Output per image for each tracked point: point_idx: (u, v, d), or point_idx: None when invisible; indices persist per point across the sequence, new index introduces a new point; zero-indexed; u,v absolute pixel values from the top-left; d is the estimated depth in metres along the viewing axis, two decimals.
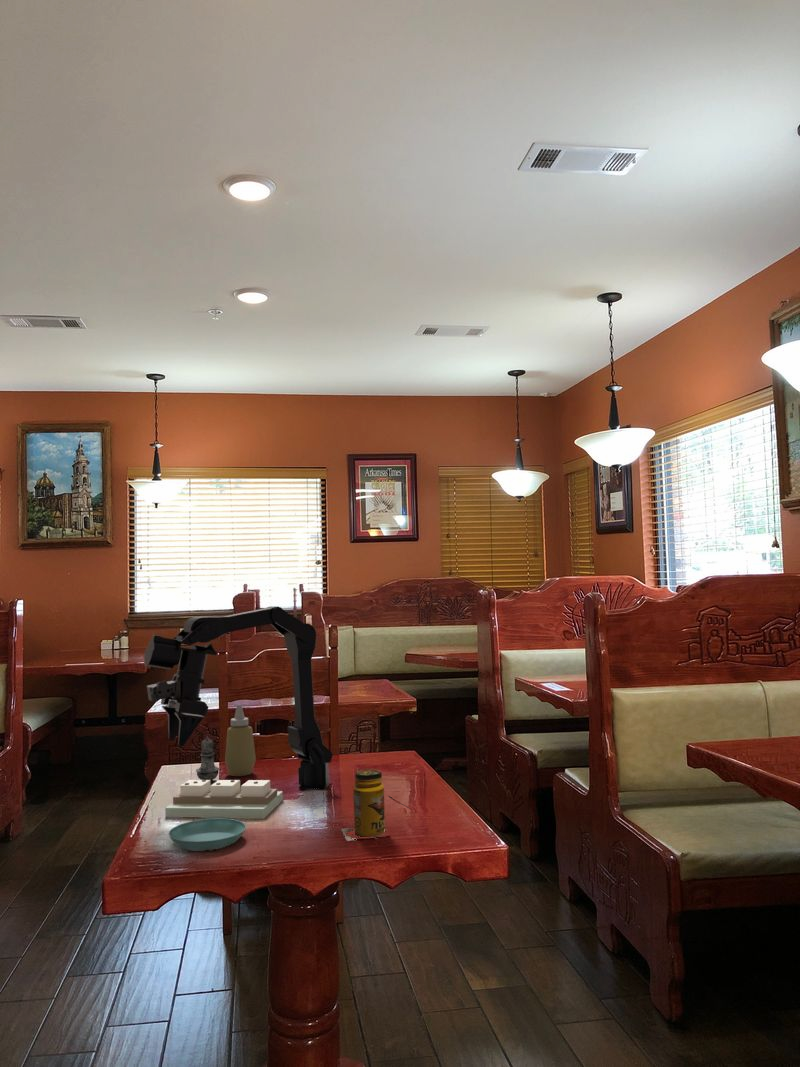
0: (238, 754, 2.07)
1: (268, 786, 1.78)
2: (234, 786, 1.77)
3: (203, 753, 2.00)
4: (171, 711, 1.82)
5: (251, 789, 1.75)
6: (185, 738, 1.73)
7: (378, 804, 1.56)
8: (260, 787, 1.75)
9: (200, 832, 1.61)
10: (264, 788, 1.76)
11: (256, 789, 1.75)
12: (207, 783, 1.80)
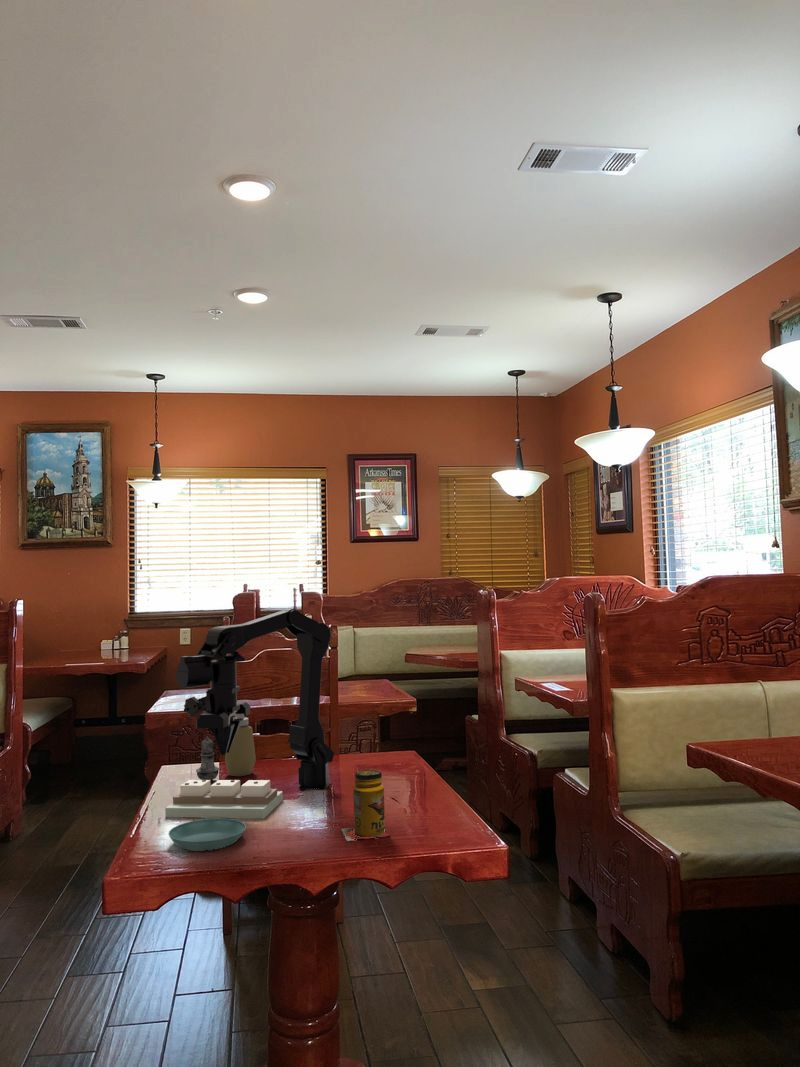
0: (238, 754, 2.07)
1: (268, 786, 1.78)
2: (234, 786, 1.77)
3: (203, 753, 2.00)
4: None
5: (251, 789, 1.75)
6: (223, 747, 1.77)
7: (378, 805, 1.56)
8: (260, 787, 1.75)
9: (200, 832, 1.61)
10: (264, 788, 1.76)
11: (256, 789, 1.75)
12: (207, 783, 1.80)
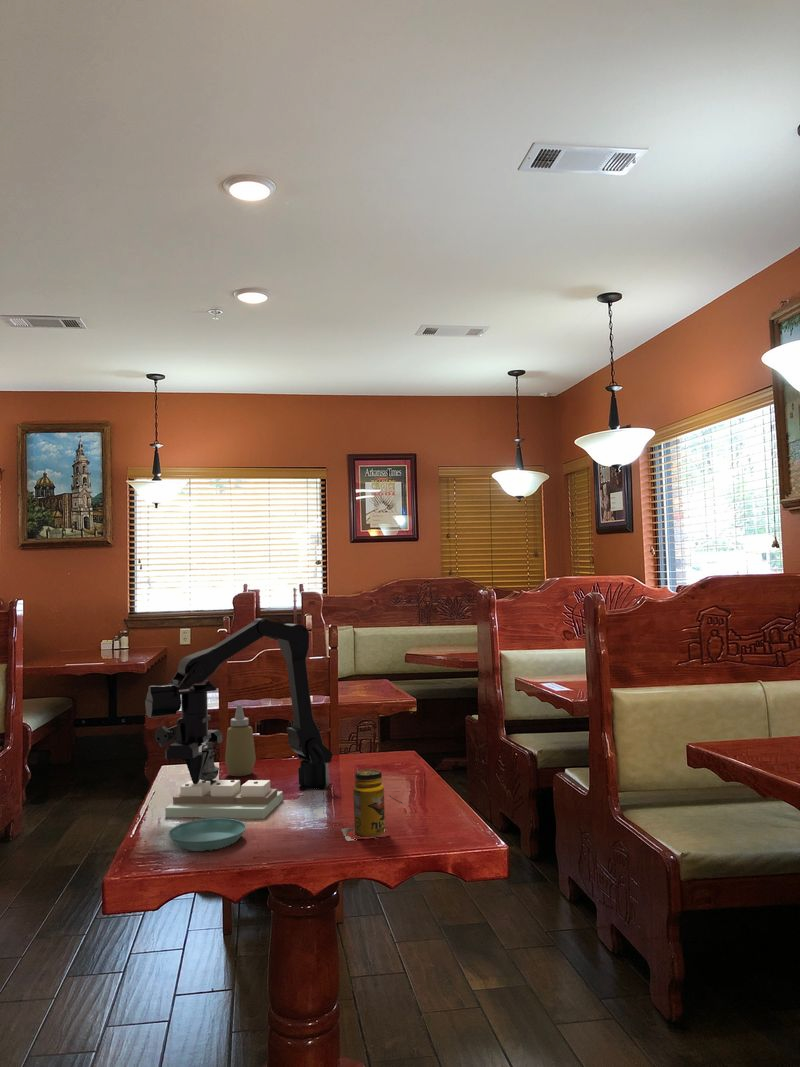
0: (238, 754, 2.07)
1: (268, 786, 1.78)
2: (234, 786, 1.77)
3: None
4: None
5: (251, 789, 1.75)
6: (196, 775, 1.79)
7: (378, 805, 1.56)
8: (260, 787, 1.75)
9: (200, 832, 1.61)
10: (264, 788, 1.76)
11: (256, 789, 1.75)
12: (207, 784, 1.80)
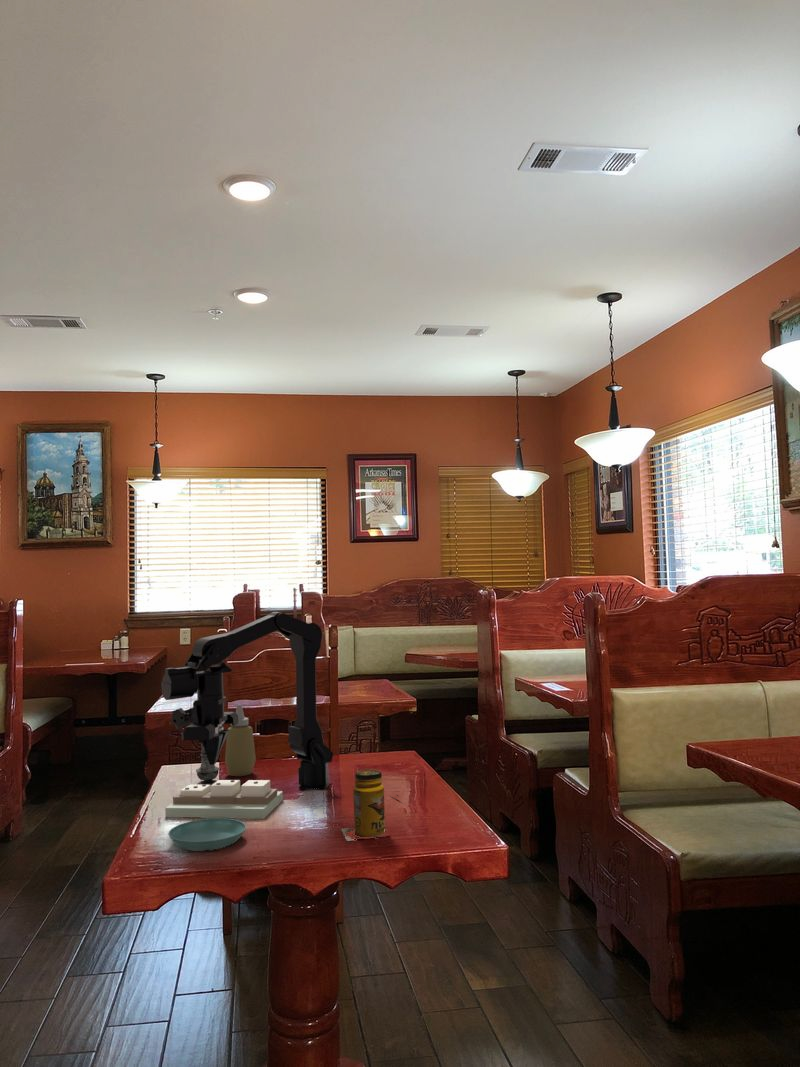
0: (238, 754, 2.07)
1: (268, 786, 1.78)
2: (234, 786, 1.77)
3: (203, 753, 2.00)
4: None
5: (251, 789, 1.75)
6: (212, 757, 1.79)
7: (378, 805, 1.56)
8: (260, 787, 1.75)
9: (200, 832, 1.61)
10: (264, 788, 1.76)
11: (256, 789, 1.75)
12: (207, 788, 1.80)
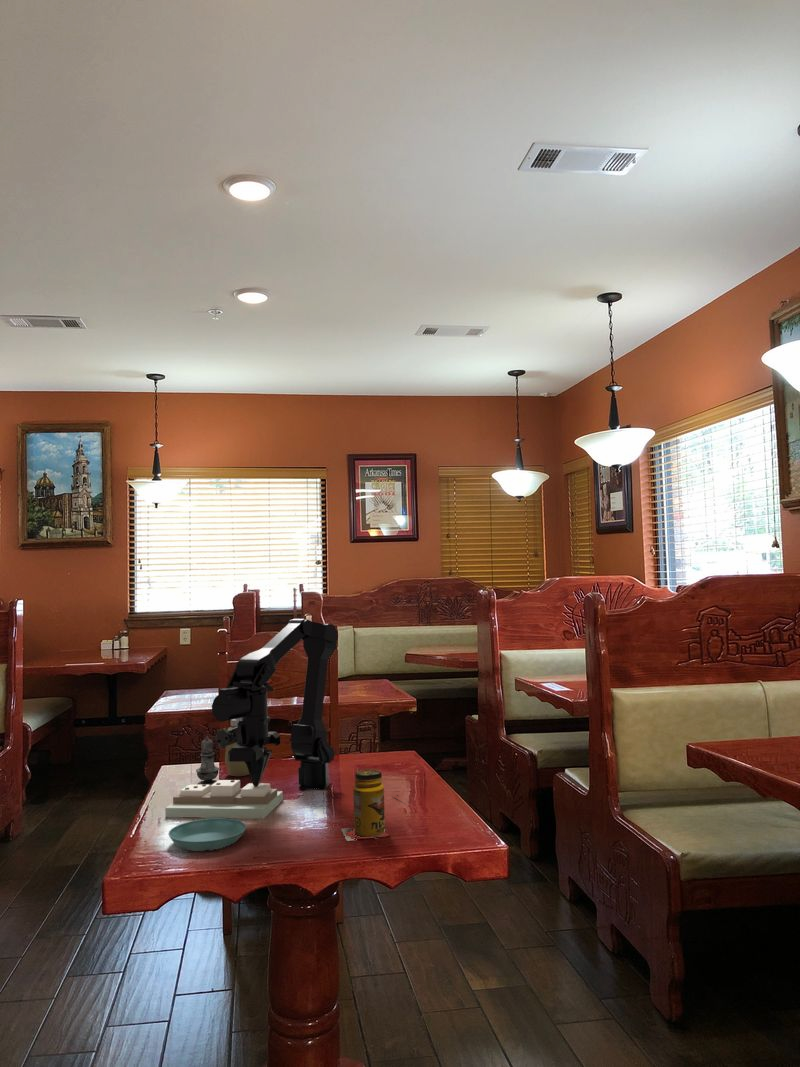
0: None
1: (268, 789, 1.78)
2: (234, 786, 1.77)
3: (203, 753, 2.00)
4: None
5: (251, 793, 1.75)
6: (256, 778, 1.77)
7: (378, 805, 1.56)
8: (260, 790, 1.75)
9: (200, 832, 1.61)
10: (264, 791, 1.75)
11: (256, 792, 1.75)
12: (207, 788, 1.80)
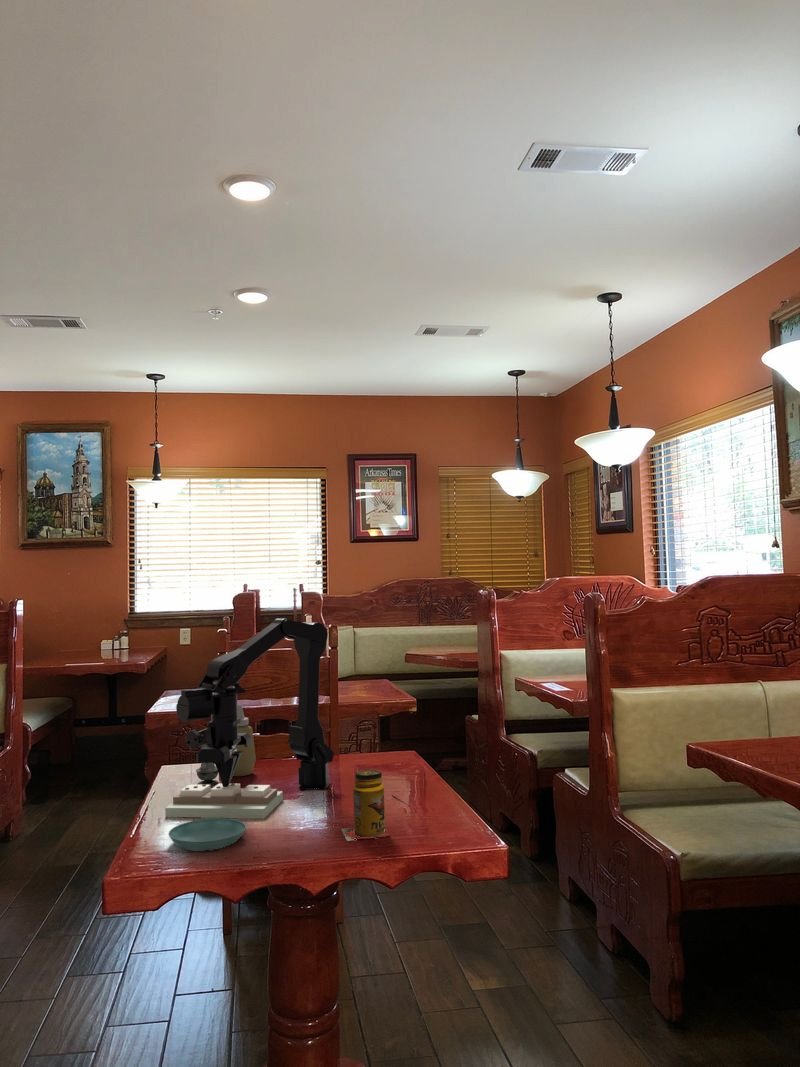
0: None
1: (268, 791, 1.78)
2: (234, 790, 1.77)
3: None
4: None
5: (251, 794, 1.75)
6: (226, 779, 1.78)
7: (378, 805, 1.56)
8: (260, 792, 1.75)
9: (200, 832, 1.61)
10: (264, 793, 1.75)
11: (256, 793, 1.75)
12: (207, 788, 1.80)
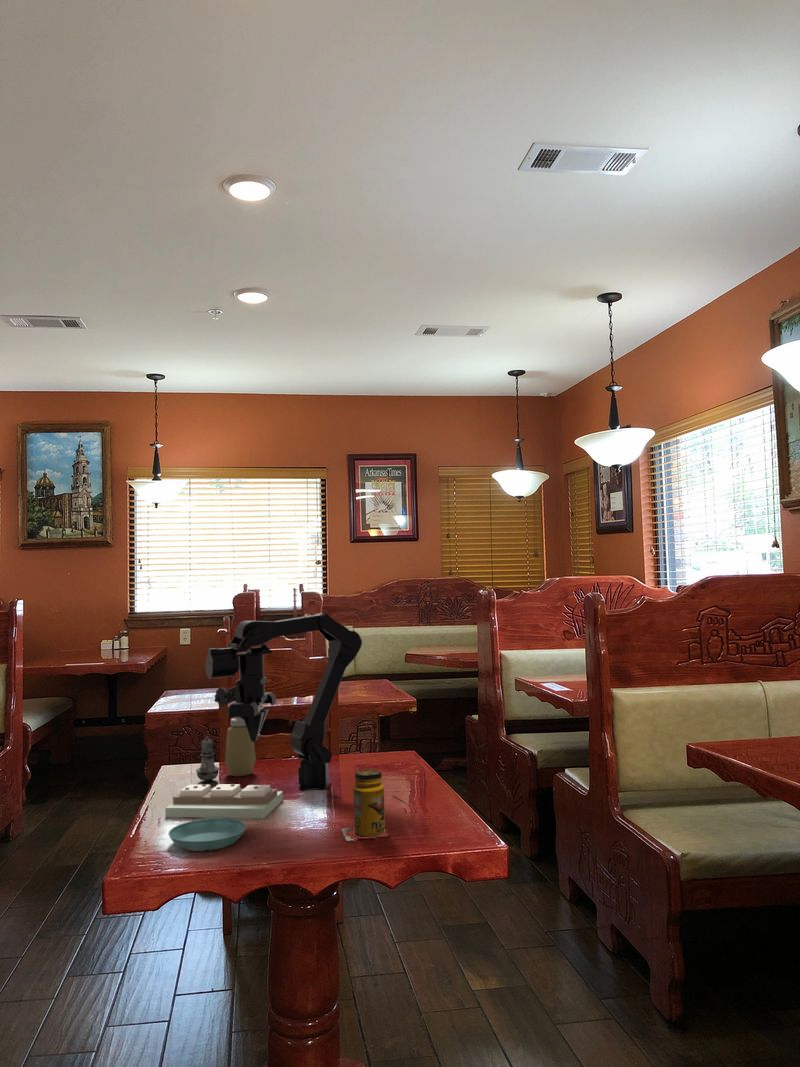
0: (238, 754, 2.07)
1: (268, 791, 1.78)
2: (234, 790, 1.77)
3: (203, 753, 2.00)
4: None
5: (251, 794, 1.75)
6: (254, 734, 1.87)
7: (378, 805, 1.56)
8: (260, 792, 1.75)
9: (200, 832, 1.61)
10: (264, 793, 1.75)
11: (256, 793, 1.75)
12: (207, 788, 1.80)
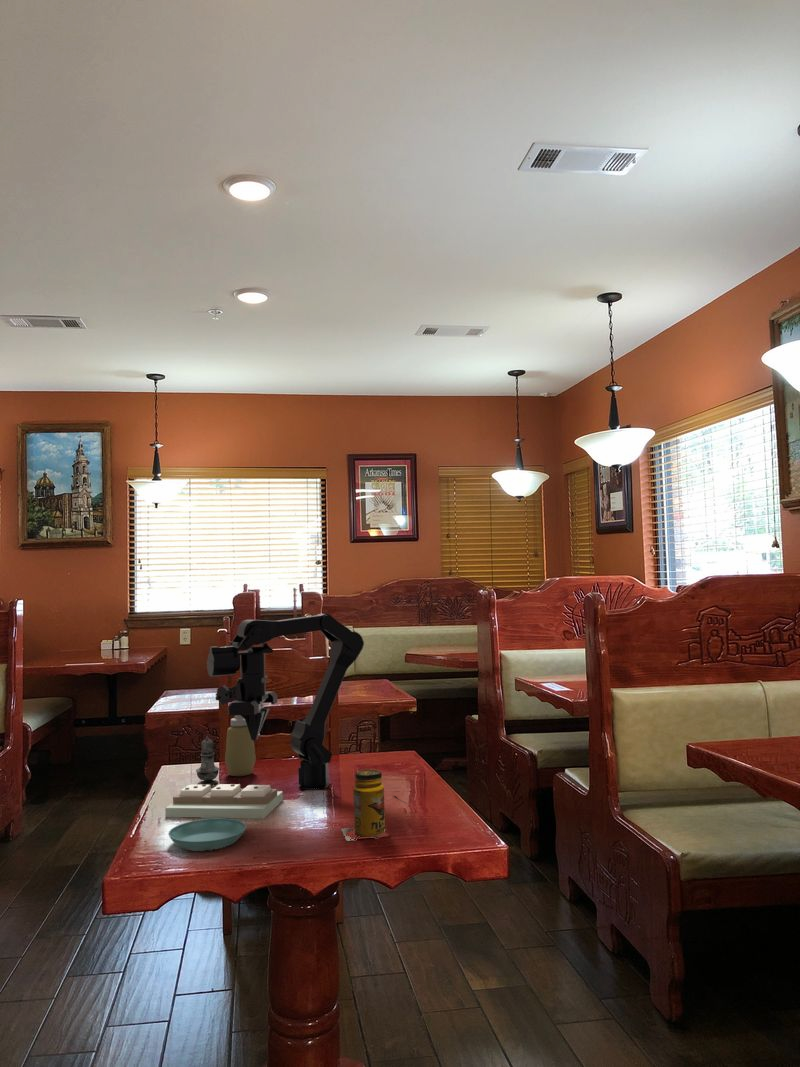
0: (238, 754, 2.07)
1: (268, 791, 1.78)
2: (234, 790, 1.77)
3: (203, 753, 2.00)
4: None
5: (251, 794, 1.75)
6: (254, 733, 1.87)
7: (378, 805, 1.56)
8: (260, 792, 1.75)
9: (200, 832, 1.61)
10: (264, 793, 1.75)
11: (256, 793, 1.75)
12: (207, 788, 1.80)
